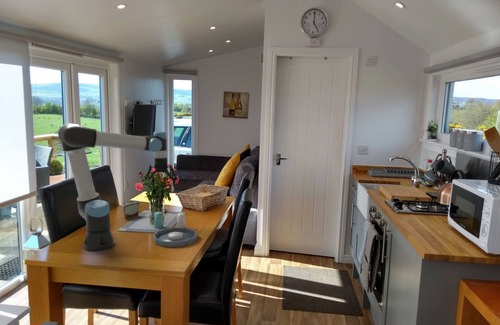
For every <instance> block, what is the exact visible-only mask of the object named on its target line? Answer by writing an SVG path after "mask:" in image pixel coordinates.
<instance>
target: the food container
mask: <svg viewBox="0 0 500 325" xmlns="http://www.w3.org/2000/svg"><path fill="white" fill-rule="evenodd" d="M140 203H141V202H140V201H138V200H129V201H128V200H127V201H124V202H122V205H121V208H122V209H123V216H124V220H129V219H133V218H137V217H139V212H140Z"/></svg>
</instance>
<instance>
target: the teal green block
mask: <svg viewBox="0 0 500 325" xmlns="http://www.w3.org/2000/svg"><path fill="white" fill-rule="evenodd" d="M157 228H159V229H164V212H163V211H155V212H154V229H157Z"/></svg>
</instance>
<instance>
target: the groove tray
mask: <svg viewBox="0 0 500 325" xmlns="http://www.w3.org/2000/svg"><path fill="white" fill-rule="evenodd" d="M198 237H199V236H198V232H197V231H196V230H195V229H193V228H188V227H185V228H184V227H177V226H175V227H168V228H167V227H166V228H161V229H158V230H157V231H156V232H155V233H153V235H152V238H153V242H154V243H155V244H156V245H158V246H161V247H166V248H178V247H180V246H181V247H185V245H186V246H188V245H191V243H192V244H194V243H195V242H196V241H197V239H198ZM193 242H194V243H193Z"/></svg>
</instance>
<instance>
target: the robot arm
mask: <svg viewBox="0 0 500 325" xmlns="http://www.w3.org/2000/svg"><path fill="white" fill-rule="evenodd" d="M57 136H58V140H59V141H60V143H61V146H62V149H63V152H64V153H66V154H67V156H68V160H69V164H70V167H71V170H72V175H73V178H74V183H75V186H76V190H77V195H78V196H77V198H76V202H77V203H76V204H77V211H78V214H79V215H80V216H81V217H82V219H84V220H85V222H86V235H85V237H84V241H83V249H85V250H86V251H87V250H88V251H93V252H94V251H97V252H98V251H104V250H108V249H110V248H112V247H113V246H114V245H115V244H116V242H115V238H114V235H113V233H112V230H111V214H110V213H111V212H110V210H111V208H110V204H109V202H108V201H105V200H102V199H101V197H100V193H99V192H97V191H96V188H95V185H94V181H93V177H92V172H91V169H90V164H89V161H88V157H87V153H86V150H87V148H92V149H94V148H96V147H103V148H104V147H105V148H115V149H124V150H125V149H126V150H136V151H137V150H138V151H144V152H145V151H146V152H147V151H148V152H153V154H154V164H150V165H149V169H148V170H147V172H146V175H145V177H144V180H146V179H147V177H148V176H149V177H148V179H150V178H152V179H153V178H154V176H155V175H156V174H157V173H165V174H166V175H167V176H168V177H169V179H170V180H171V182H170V183H171V184H170V186H171V188H170V189H171V193H174V191H175V187H176V181H178V180H179V177H178V175H177V173H176V172H175V170H174V168H173V167H174V166H173V164H171V165H168V149H167V148H168V146H167V145H168V142H167V140H168V139H167V132H166V131H154V132H153V134H152V135H133V134H132V135H131V134H123V133H115V132H106V131H99V130H97V129H96V128H92V127H91V128H90V127H86V126H83V125H80V124H77V123H74V122H69V123H68V122H67V123H64V124H63V125H61V126H60V128H59V129H58V132H57ZM153 169H155V170H154V171H153V172H152V170H153ZM168 169H169V170H170V171H169V170H168ZM151 173H152V174H151ZM146 176H147V177H146ZM146 181H147V180H146ZM149 192H151V193H152V191H150V190H149Z"/></svg>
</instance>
